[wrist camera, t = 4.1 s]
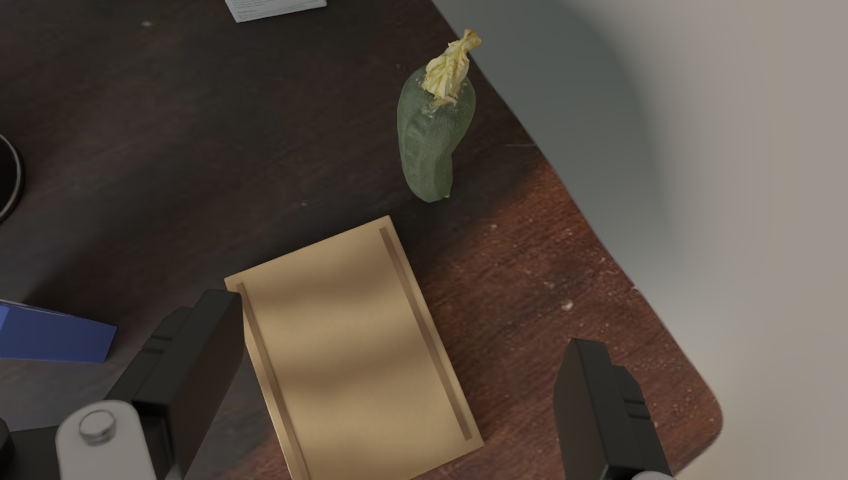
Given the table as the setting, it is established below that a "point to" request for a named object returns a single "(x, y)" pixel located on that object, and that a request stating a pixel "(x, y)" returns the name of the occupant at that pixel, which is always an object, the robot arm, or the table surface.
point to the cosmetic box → (268, 7)
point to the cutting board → (353, 361)
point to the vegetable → (435, 119)
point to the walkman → (51, 335)
